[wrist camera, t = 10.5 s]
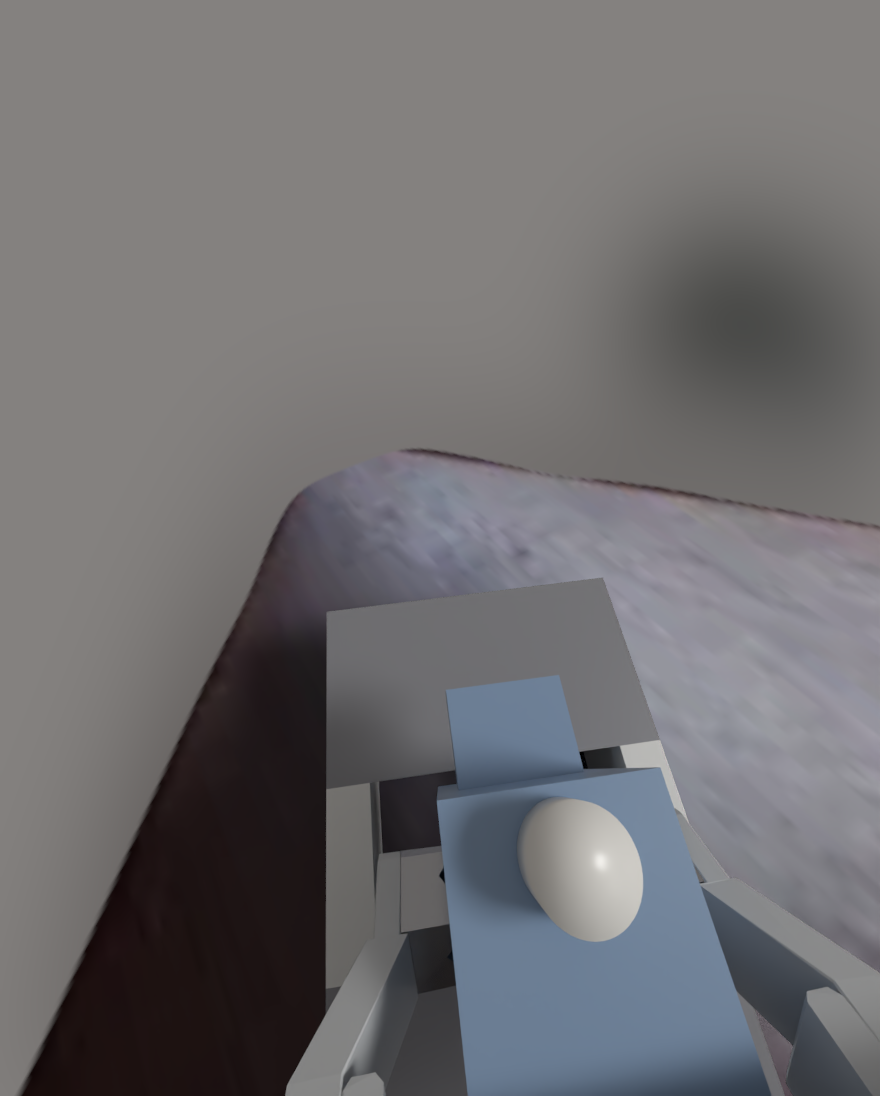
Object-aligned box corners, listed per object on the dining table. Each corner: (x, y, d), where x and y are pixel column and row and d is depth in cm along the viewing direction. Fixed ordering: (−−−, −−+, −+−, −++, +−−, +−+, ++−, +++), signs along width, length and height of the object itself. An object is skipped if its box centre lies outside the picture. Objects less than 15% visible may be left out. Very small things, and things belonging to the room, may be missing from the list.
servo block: (536, 702, 15) (639, 627, 7) (609, 1025, 11) (1003, 1606, 3) (430, 716, 15) (420, 655, 7) (466, 1051, 11) (535, 1743, 3)
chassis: (566, 621, 23) (602, 577, 18) (705, 1103, 15) (852, 1288, 9) (353, 649, 23) (326, 611, 17) (369, 1170, 14) (324, 1412, 9)
